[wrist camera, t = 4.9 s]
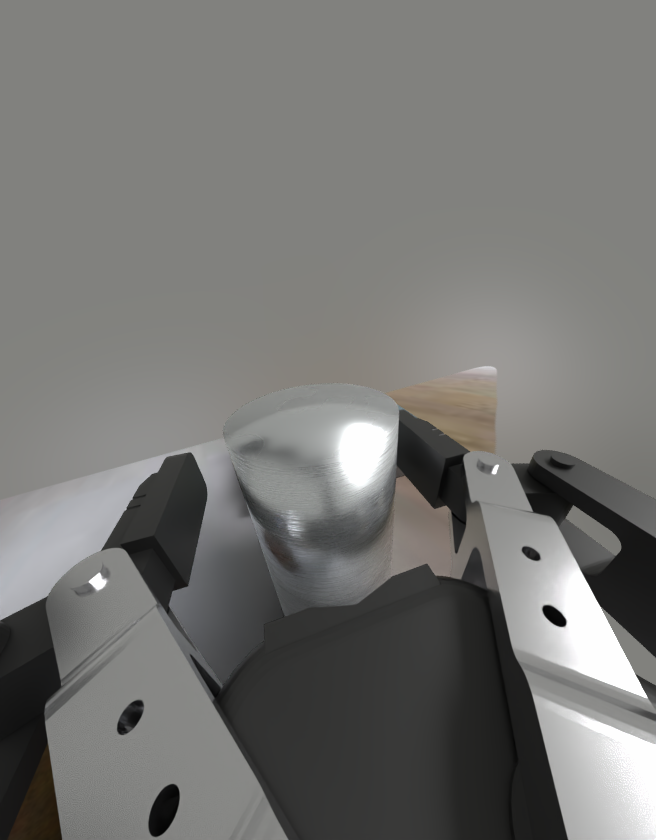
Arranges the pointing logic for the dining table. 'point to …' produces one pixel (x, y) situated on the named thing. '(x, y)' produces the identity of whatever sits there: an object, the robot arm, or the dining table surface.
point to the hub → (319, 489)
